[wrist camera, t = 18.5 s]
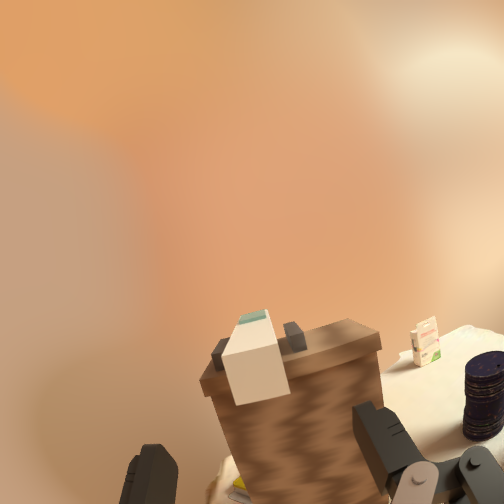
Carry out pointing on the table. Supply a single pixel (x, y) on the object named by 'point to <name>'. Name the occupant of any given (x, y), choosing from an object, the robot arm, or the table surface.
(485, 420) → the dark blue cylinder
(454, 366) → the table surface
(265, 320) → the bar
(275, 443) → the tall stand
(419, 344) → the ink box
